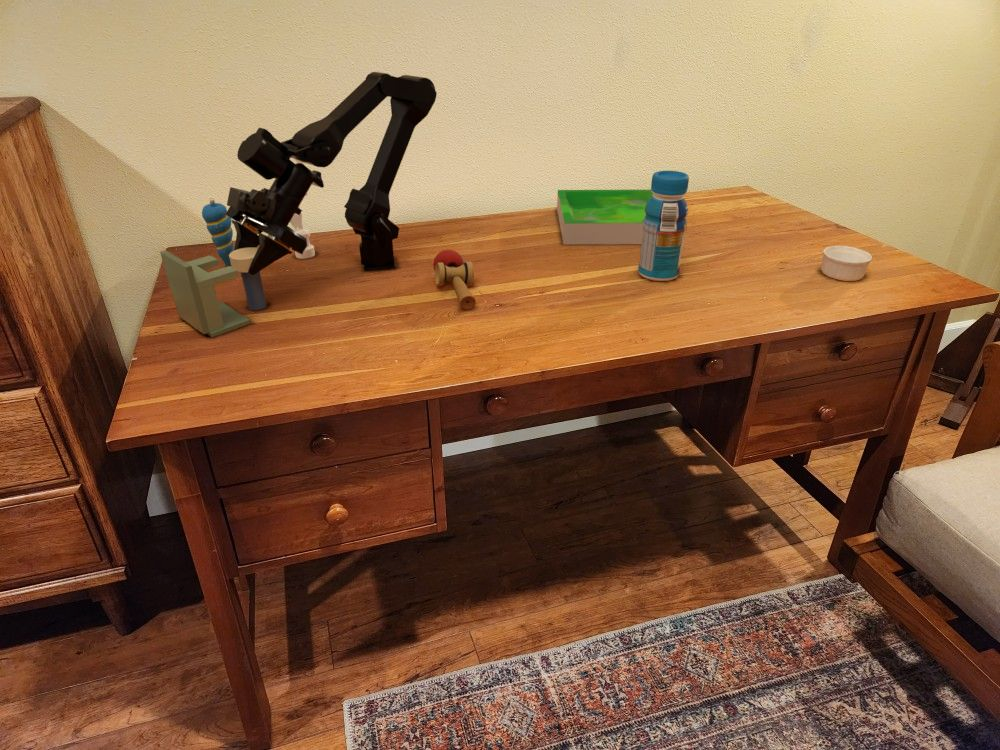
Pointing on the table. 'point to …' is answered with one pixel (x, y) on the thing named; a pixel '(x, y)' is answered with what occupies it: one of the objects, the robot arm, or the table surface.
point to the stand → (201, 294)
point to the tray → (602, 216)
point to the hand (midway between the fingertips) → (241, 269)
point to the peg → (249, 277)
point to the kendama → (455, 275)
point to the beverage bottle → (664, 226)
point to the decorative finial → (302, 233)
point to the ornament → (219, 229)
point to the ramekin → (845, 262)
